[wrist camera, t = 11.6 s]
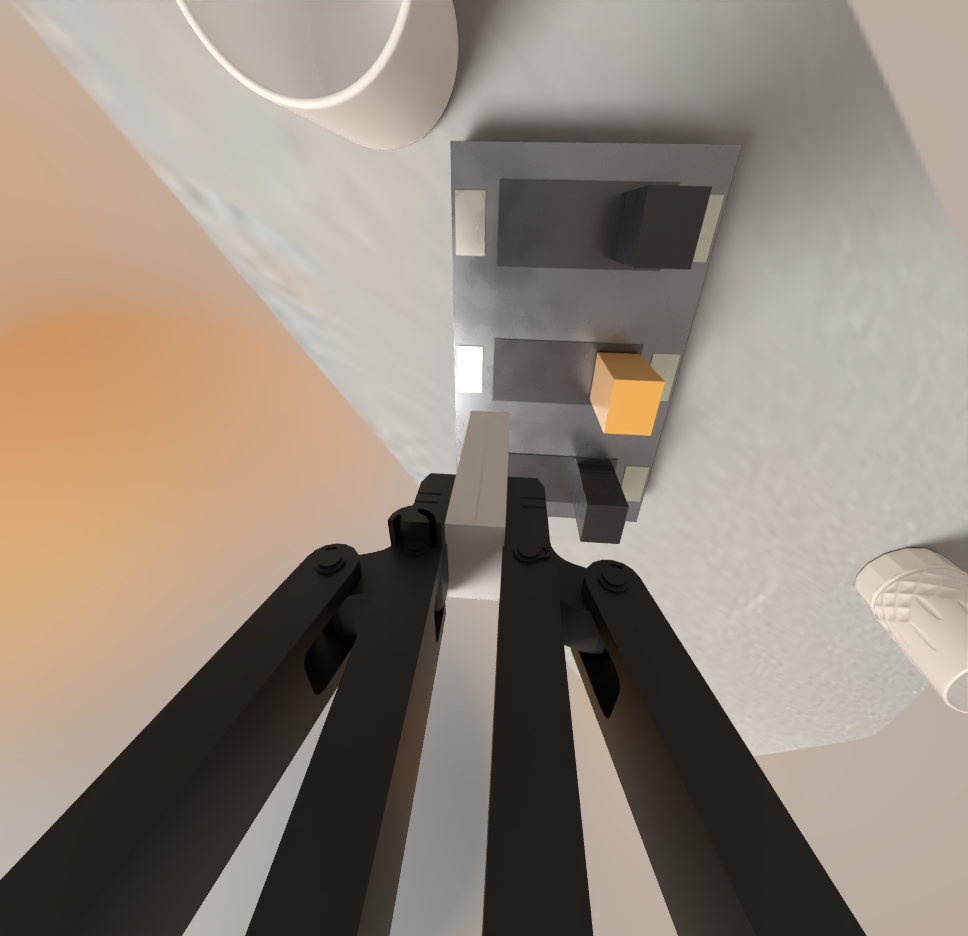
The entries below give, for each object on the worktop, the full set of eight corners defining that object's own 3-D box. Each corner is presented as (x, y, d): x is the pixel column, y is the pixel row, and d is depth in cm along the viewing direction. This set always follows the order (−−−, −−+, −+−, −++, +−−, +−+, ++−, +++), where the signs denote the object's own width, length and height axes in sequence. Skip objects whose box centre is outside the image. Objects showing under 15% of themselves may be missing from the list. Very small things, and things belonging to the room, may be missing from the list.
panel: (458, 150, 22) (431, 118, 16) (715, 153, 22) (805, 121, 15) (462, 489, 34) (447, 555, 28) (627, 499, 34) (655, 569, 27)
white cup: (832, 604, 38) (922, 713, 30) (867, 541, 34) (983, 646, 26) (923, 605, 37) (1042, 718, 29) (970, 541, 33) (1125, 650, 25)
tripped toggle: (597, 352, 24) (614, 379, 20) (639, 354, 24) (665, 381, 20) (589, 398, 26) (603, 433, 22) (628, 400, 26) (650, 435, 22)
